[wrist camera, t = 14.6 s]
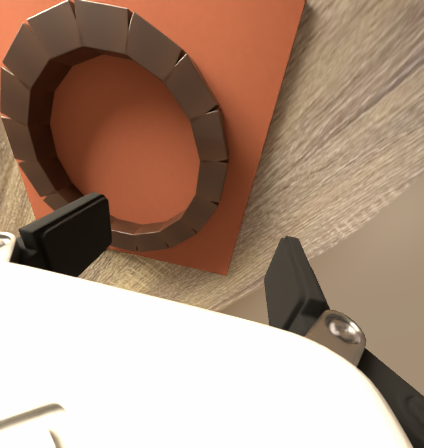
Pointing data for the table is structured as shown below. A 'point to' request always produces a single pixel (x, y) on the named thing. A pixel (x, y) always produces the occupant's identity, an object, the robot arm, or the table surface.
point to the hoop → (85, 50)
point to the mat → (169, 116)
